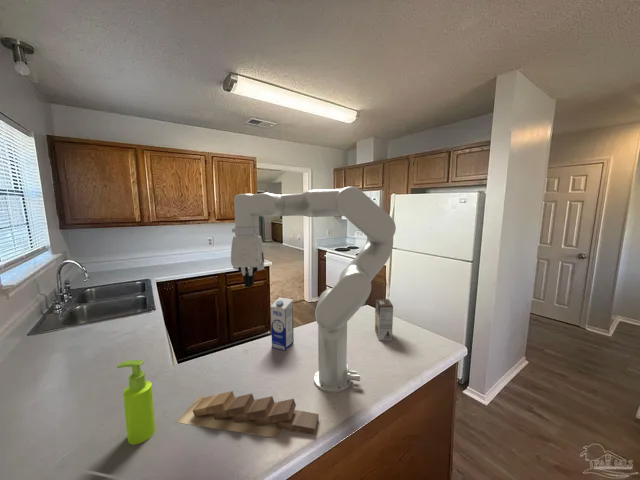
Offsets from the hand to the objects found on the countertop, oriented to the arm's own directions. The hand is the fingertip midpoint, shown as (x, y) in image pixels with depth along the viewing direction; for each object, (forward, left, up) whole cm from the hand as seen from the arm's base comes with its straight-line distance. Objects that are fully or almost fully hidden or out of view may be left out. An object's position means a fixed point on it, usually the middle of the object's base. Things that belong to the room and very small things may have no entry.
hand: (249, 286), depth 88 cm
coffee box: (-47, -38, -32) cm, 69 cm away
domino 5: (-16, +18, -31) cm, 39 cm away
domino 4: (-10, +18, -31) cm, 37 cm away
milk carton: (-4, -22, -32) cm, 39 cm away
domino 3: (-4, +18, -31) cm, 36 cm away
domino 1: (+8, +18, -31) cm, 37 cm away
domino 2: (+2, +18, -31) cm, 36 cm away
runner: (-3, +18, -32) cm, 37 cm away
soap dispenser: (+18, +28, -32) cm, 46 cm away
